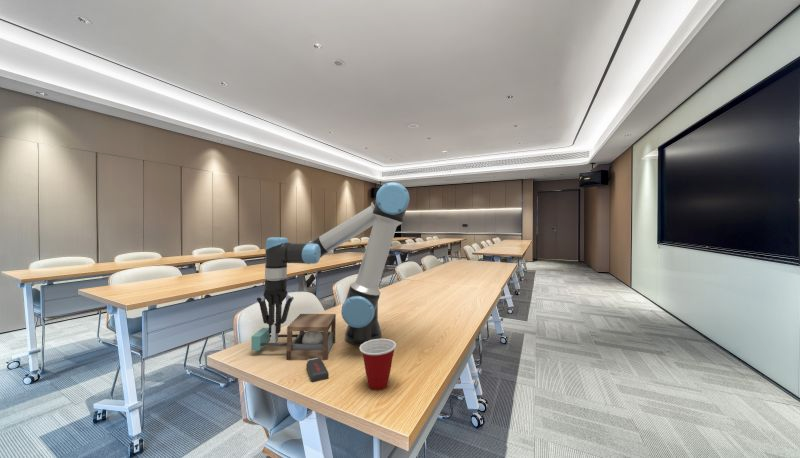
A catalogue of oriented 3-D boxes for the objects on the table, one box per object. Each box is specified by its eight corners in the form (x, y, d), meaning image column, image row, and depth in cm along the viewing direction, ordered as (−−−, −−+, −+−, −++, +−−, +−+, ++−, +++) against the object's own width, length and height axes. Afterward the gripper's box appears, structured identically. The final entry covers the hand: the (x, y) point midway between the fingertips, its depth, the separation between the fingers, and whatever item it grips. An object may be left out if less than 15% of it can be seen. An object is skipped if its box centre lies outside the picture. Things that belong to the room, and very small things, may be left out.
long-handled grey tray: (332, 343, 114) (333, 326, 114) (326, 357, 101) (326, 338, 101) (264, 343, 113) (264, 326, 113) (248, 357, 100) (249, 338, 100)
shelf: (335, 342, 115) (335, 313, 115) (327, 359, 100) (327, 327, 100) (300, 342, 115) (300, 313, 115) (286, 360, 99) (287, 326, 99)
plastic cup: (359, 375, 90) (360, 337, 90) (394, 375, 90) (394, 337, 90) (357, 396, 79) (358, 352, 79) (396, 394, 80) (397, 351, 80)
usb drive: (311, 383, 85) (311, 374, 85) (304, 366, 96) (304, 358, 96) (328, 379, 88) (328, 370, 88) (320, 363, 98) (320, 355, 98)
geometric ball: (311, 355, 109) (315, 334, 114) (326, 352, 106) (329, 330, 111) (295, 351, 104) (299, 329, 109) (310, 347, 101) (314, 325, 106)
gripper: (296, 277, 111) (295, 338, 111) (262, 276, 110) (261, 337, 110) (290, 280, 103) (288, 346, 103) (253, 280, 103) (251, 345, 103)
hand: (274, 341), depth 107 cm, fingers closed
